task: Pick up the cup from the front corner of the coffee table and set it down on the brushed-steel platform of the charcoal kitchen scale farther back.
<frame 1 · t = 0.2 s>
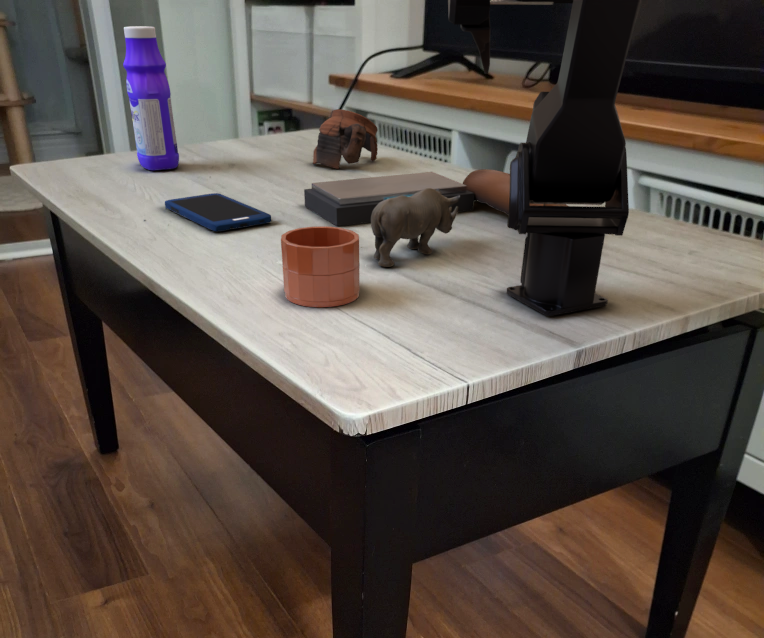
hand: (527, 71, 84), 15 cm above the table, tool tilted 30°, fingers open, 9 cm apart
cell phone: (217, 216, 89), on the table
brown piece: (347, 166, 114), on the table
rhino figurine: (418, 253, 79), on the table
cup: (322, 294, 68), on the table
scale: (388, 208, 93), on the table
bottle: (159, 168, 112), on the table
sunglasses case: (524, 218, 91), on the table
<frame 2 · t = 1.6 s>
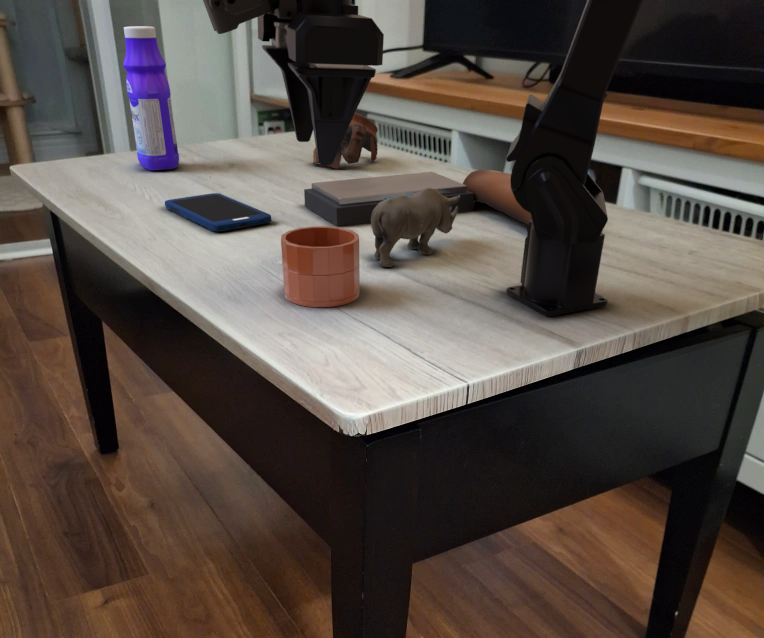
hand: (313, 152, 64), 11 cm above the table, tool pointing down, fingers open, 9 cm apart
nothing on the table moved.
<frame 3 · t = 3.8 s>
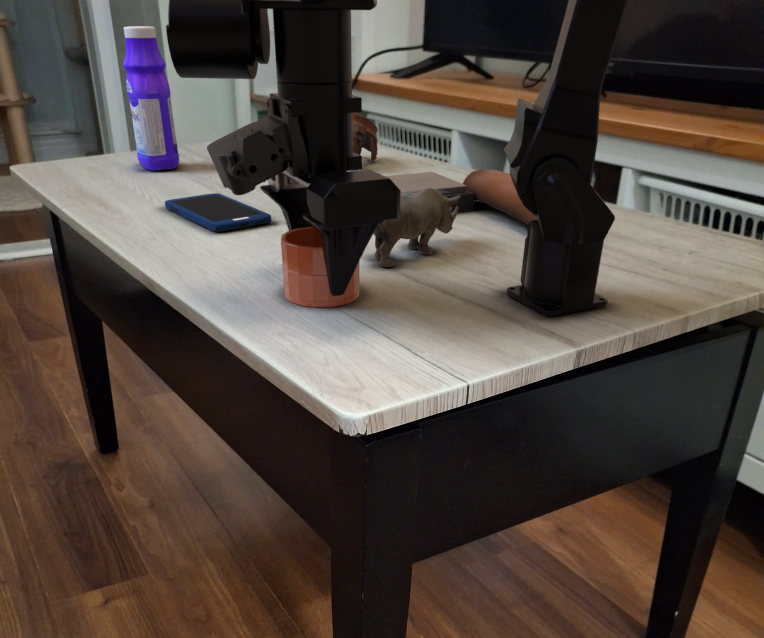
hand: (321, 282, 67), 1 cm above the table, tool pointing down, fingers closed on cup, 6 cm apart
cup: (322, 294, 68), on the table, touching gripper
everything else where it was.
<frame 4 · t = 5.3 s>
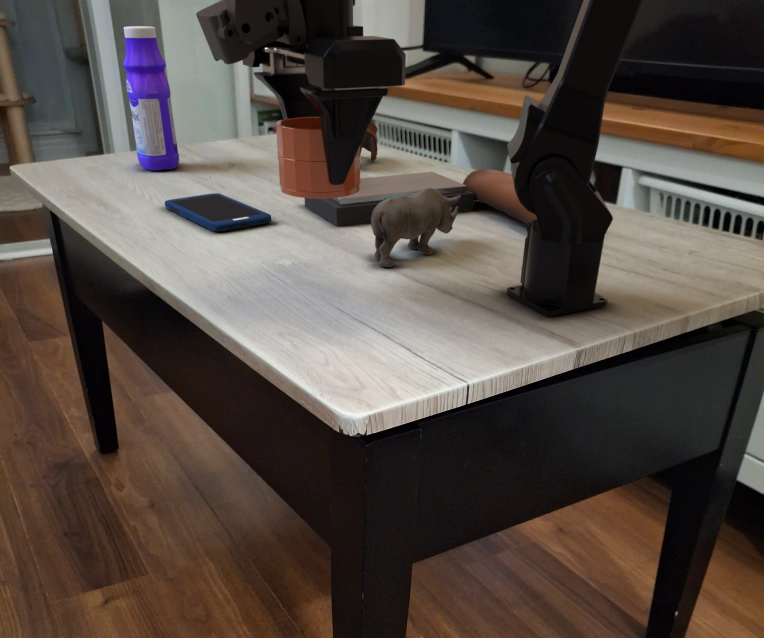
hand: (320, 175, 63), 10 cm above the table, tool pointing down, fingers closed on cup, 6 cm apart
cup: (320, 189, 64), point 9 cm above the table, touching gripper
everything else where it was.
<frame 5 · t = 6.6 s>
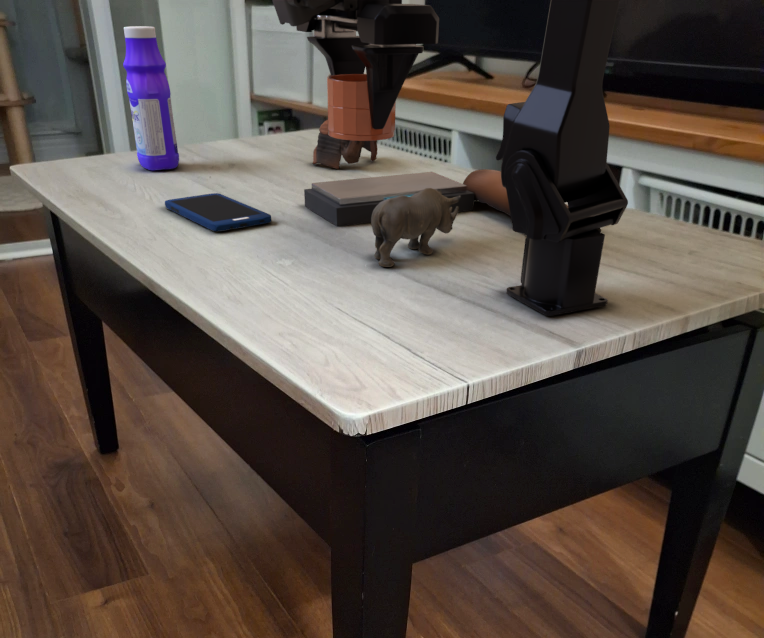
hand: (362, 123, 76), 11 cm above the table, tool pointing down, fingers closed on cup, 6 cm apart
cup: (361, 134, 76), point 10 cm above the table, touching gripper
everything else where it was.
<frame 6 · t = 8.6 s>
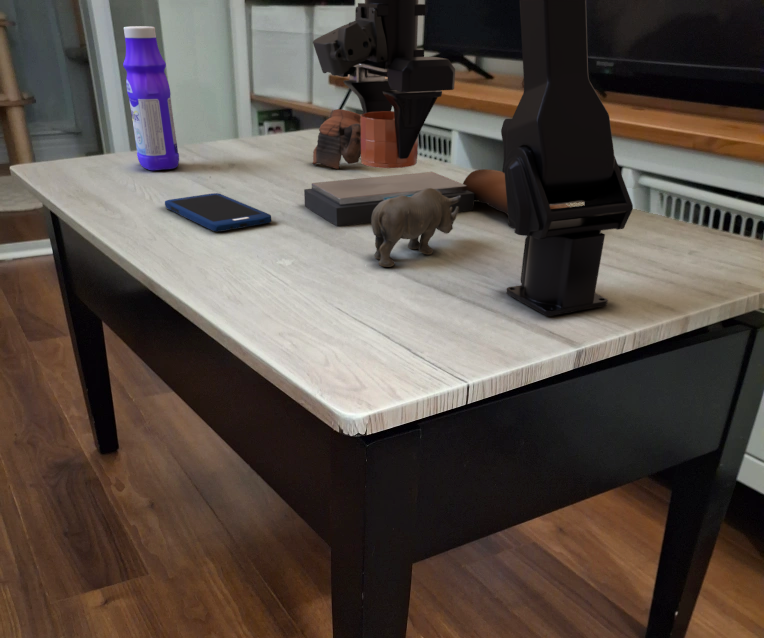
hand: (389, 153, 89), 6 cm above the table, tool pointing down, fingers closed on cup, 6 cm apart
cup: (388, 162, 90), point 5 cm above the table, touching gripper
everything else where it was.
when the fingers open (4 cm above the table, at t = 9.9 s): cup stays where it is, resting on scale.
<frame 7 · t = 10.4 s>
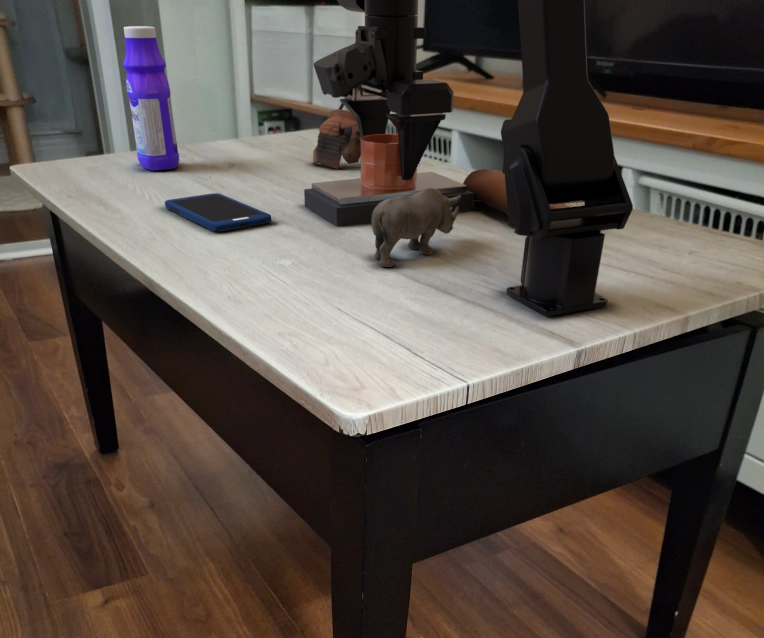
hand: (388, 171, 91), 4 cm above the table, tool pointing down, fingers open, 9 cm apart
cup: (388, 184, 91), point 3 cm above the table, touching scale
everything else where it was.
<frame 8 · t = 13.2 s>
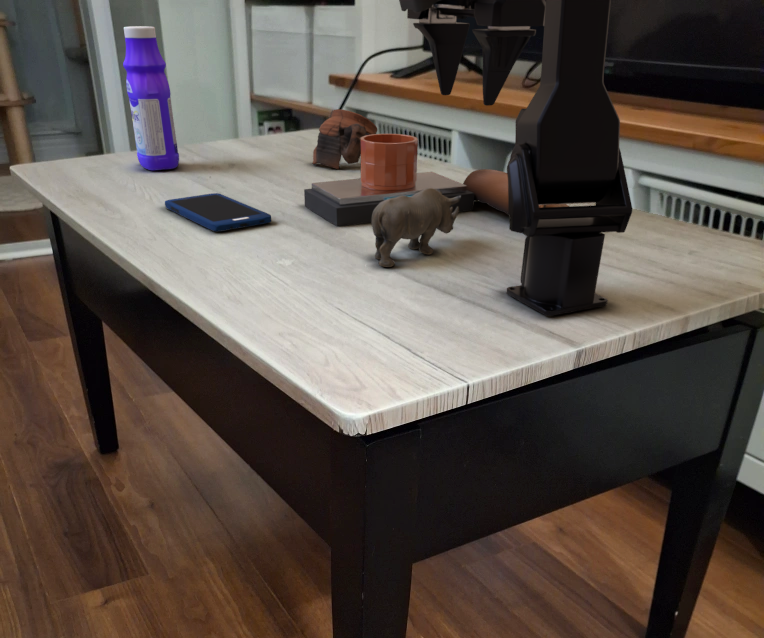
hand: (466, 100, 85), 12 cm above the table, tool pointing down, fingers open, 9 cm apart
nothing on the table moved.
at the end: cup inside the target area on the scale (0.1 cm from its centre), point 2.8 cm above the scale's base; cup tilted 0°; the gripper is holding nothing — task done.
